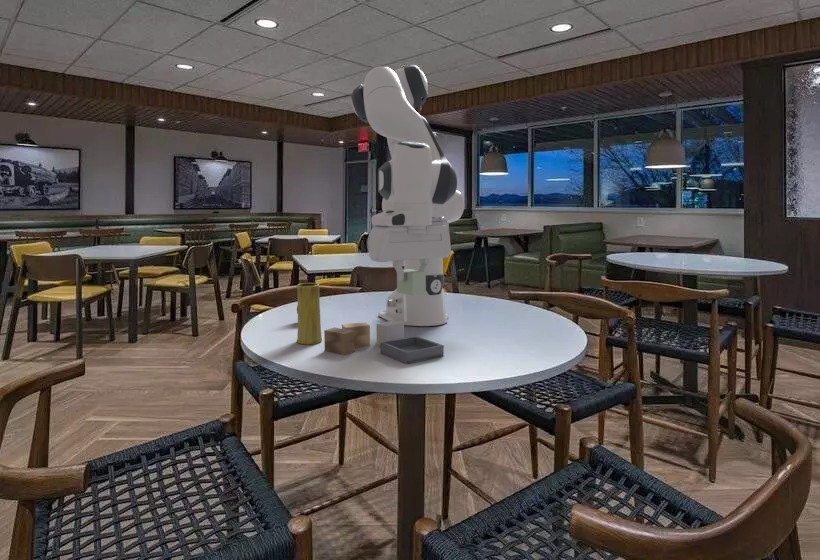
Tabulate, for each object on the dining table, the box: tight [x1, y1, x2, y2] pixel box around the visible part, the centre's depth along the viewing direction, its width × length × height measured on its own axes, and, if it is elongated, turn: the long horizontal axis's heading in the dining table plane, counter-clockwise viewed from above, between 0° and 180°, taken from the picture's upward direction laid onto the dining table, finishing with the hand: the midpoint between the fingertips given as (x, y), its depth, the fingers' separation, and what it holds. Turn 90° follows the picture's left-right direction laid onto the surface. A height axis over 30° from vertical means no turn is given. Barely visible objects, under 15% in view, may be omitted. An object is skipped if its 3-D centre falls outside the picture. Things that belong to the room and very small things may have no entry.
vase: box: [296, 282, 323, 346], centre depth 127 cm, size 6×6×14 cm
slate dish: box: [379, 335, 445, 365], centre depth 117 cm, size 10×10×2 cm
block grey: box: [376, 320, 405, 345], centre depth 127 cm, size 6×4×5 cm, turn 136°
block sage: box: [396, 268, 426, 296], centre depth 115 cm, size 6×4×5 cm, turn 37°
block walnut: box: [323, 327, 355, 356], centre depth 119 cm, size 6×4×5 cm, turn 57°
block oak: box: [341, 322, 371, 348], centre depth 125 cm, size 6×4×5 cm, turn 111°
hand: (411, 280), depth 115 cm, fingers closed on block sage, 3 cm apart
